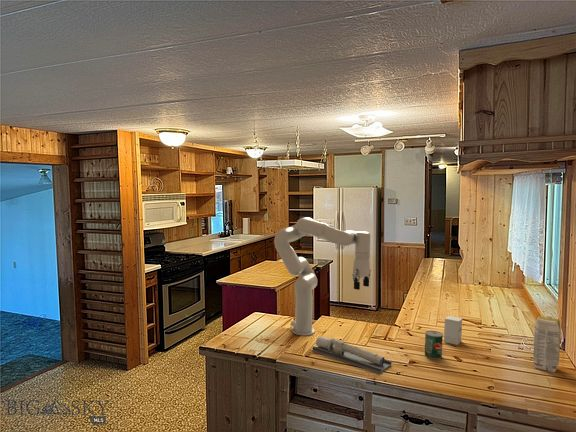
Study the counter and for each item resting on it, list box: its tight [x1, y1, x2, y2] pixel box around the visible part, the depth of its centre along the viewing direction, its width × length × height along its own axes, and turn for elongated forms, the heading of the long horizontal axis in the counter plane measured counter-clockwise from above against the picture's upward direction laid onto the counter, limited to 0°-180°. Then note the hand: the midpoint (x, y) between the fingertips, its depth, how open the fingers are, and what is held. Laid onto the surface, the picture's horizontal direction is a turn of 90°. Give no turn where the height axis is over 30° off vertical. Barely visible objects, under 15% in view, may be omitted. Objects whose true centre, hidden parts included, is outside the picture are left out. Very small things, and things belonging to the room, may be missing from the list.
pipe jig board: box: [312, 335, 392, 375], centre depth 181 cm, size 36×11×7 cm, turn 50°
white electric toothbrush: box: [333, 339, 385, 366], centre depth 179 cm, size 5×7×25 cm
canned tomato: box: [424, 330, 444, 360], centre depth 186 cm, size 8×8×11 cm
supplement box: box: [443, 315, 463, 346], centre depth 205 cm, size 7×7×13 cm
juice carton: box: [532, 314, 562, 373], centre depth 174 cm, size 9×8×24 cm
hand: (361, 287), depth 203 cm, fingers open, 9 cm apart
